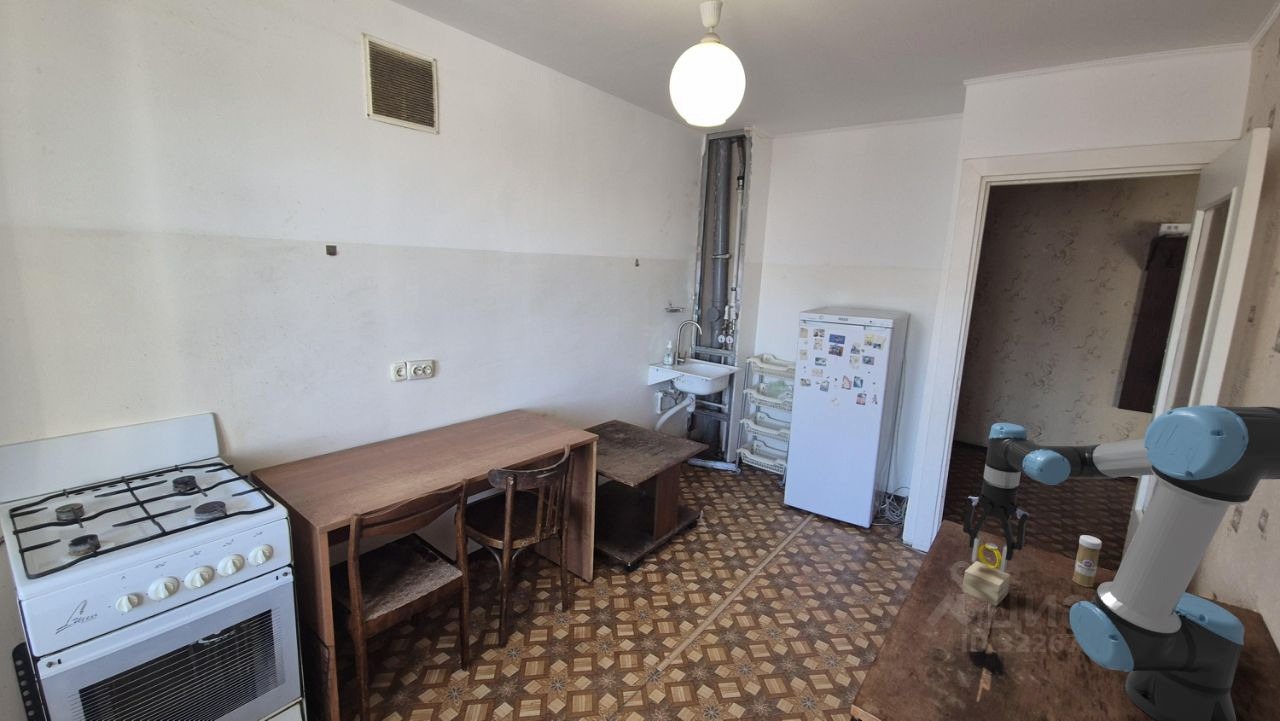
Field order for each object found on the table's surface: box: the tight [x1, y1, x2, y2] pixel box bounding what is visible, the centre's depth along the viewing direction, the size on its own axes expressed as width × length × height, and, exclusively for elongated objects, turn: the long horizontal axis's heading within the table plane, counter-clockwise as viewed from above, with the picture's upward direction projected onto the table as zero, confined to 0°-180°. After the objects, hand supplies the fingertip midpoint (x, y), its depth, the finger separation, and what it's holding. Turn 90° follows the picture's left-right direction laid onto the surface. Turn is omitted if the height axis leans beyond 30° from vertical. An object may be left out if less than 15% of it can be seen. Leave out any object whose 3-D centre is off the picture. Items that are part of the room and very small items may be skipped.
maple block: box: [961, 560, 1011, 607], centre depth 138 cm, size 8×8×6 cm
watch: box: [978, 542, 1002, 569], centre depth 136 cm, size 6×3×6 cm, turn 14°
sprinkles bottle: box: [1072, 534, 1103, 588], centre depth 141 cm, size 5×5×13 cm
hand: (988, 564), depth 137 cm, fingers closed on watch, 6 cm apart
